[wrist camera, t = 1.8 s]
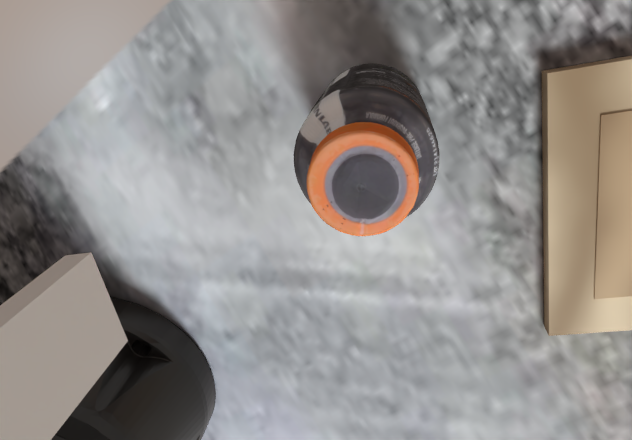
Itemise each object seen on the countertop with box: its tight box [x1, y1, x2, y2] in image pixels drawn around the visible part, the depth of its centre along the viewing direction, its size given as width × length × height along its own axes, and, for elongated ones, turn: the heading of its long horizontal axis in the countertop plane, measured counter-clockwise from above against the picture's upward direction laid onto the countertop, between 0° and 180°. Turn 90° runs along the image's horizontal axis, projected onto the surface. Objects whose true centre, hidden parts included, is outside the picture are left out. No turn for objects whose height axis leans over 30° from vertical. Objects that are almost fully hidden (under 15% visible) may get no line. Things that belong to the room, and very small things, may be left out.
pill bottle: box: [294, 64, 439, 236], centre depth 22 cm, size 6×6×11 cm
